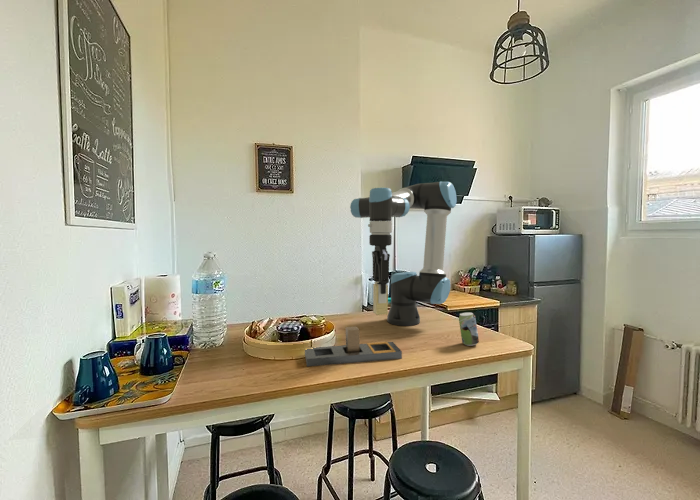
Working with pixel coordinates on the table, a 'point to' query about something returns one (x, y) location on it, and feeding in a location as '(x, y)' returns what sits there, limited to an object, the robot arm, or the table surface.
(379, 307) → the pale yellow block
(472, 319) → the beverage can
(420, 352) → the table surface
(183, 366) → the table surface
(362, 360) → the grey peg insertion board
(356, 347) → the brown rectangular block
